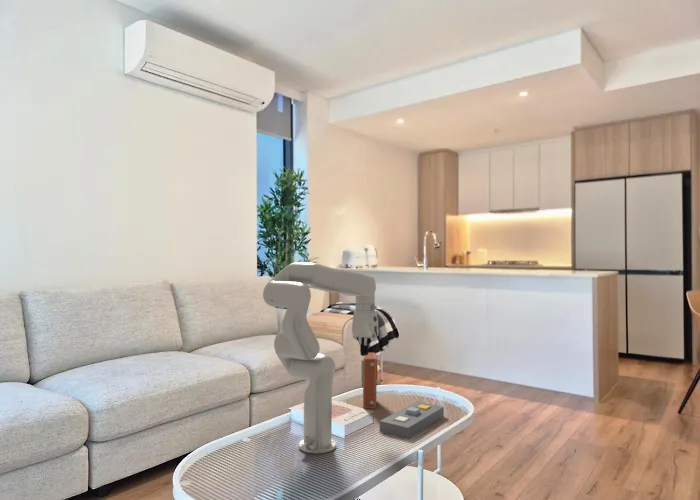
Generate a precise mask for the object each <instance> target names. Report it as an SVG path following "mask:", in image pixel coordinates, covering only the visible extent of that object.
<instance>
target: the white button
mask: <svg viewBox="0 0 700 500" xmlns="http://www.w3.org/2000/svg"><path fill="white" fill-rule="evenodd" d="M394 421H398V422H402V423H405V422H407V421H409V418H406V417H402V416H399V417H397V418H395V419H394Z"/></svg>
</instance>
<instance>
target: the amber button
mask: <svg viewBox="0 0 700 500" xmlns="http://www.w3.org/2000/svg"><path fill="white" fill-rule="evenodd" d="M417 408H419V409H422V410H428V409H430V406H427V405H422V404H421V405H419V406H418V407H417Z"/></svg>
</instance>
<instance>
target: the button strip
mask: <svg viewBox="0 0 700 500" xmlns="http://www.w3.org/2000/svg"><path fill="white" fill-rule="evenodd" d="M421 404H422V405H427V406H430V409H428V410H422V409H420V414H419V415H418V416H411V415H407V414H406V409H408V408H410V407H414V408H417V407H418V406H419V405H421ZM444 409H445V408H444V406H441V405H435V404H432V403H426V402H421V401H416V402H413V403H411V404H410V405H408V406H406V407H403V408H402V409H399V410H398V411H396V412H395V413H392V414H390V415H389V416H386V417H385V418H382V419H380V420H379V432H380V433H384V434H386V435H391V436H395V437H399V438H403V439H406V438H407V440H409V439H411V438H412V437H414V436H415V435H417V434H419V433H420V432H421V431H423V430H425V429H427V428H428V427H430V426H431V425H433V424H434V423H436V422H437V421H440V420H441V419H442V418H443V417H444V416H445V415H444V414H445V413H444ZM399 416H402V417H406V418H409V421H407V422H405V423H402V422H398V421H394V419H395V418H397V417H399ZM410 437H411V438H410Z"/></svg>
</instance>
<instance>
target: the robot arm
mask: <svg viewBox="0 0 700 500" xmlns="http://www.w3.org/2000/svg"><path fill="white" fill-rule="evenodd" d="M311 289H314V290H319V291H324V292H328V293H333V294H334V293H335V294H343V295H345V296H348V297H355V310H354V311H353V316H352V322H351V323H352V324H351V334H352V338H353V339H355V340H356V341H358V345H360V346H359V347H360V349H359V352H360V356H365V355H368V353H370V352H369V351H370V345H371V343H373V342H375V341H377V340H378V338H377V337H378V336H379V333H380V332H379V331H380V330H379V318H378V313H377V311H376V310H377V308H378V306H377V305H376V304H375V303H376V302H375V300H376V297H375V296H376V295H375V294H376V293H375V292H376V290H377V284H376V280H375V278H374V277H373V276H369V275H366V274H362V273H357V272H351V271H347V270H343V269H338V268H334V267H330V266H326V265H323V264H319V263H316V262H292V263H289V264H288V265H286V266H285V267H284V268H282V269H281V270H280V271H279V272H278V273H277V274H276V275H275V276H273V277H272V278H271V279H270V280H269V281H268V282H267V283H266V285H265V286H264V288H263V292H262V298H263V300H264V302H265V303H266V304H267V305H268V306H270V307H274V308H283V309H286V310H285V313H284V316H283V318H282V321H281V330H279V332H277V334H276V335H275V338H274V342H273V347H274V351H275V354H276V356H277V358H278V359H279V361H280V362H281V364H282V366H283V367H284V369H285V370H286V372H287V373H288V374H289V375H290V376H291V377H292V378H295V379H298V380H304V381H308V385H307V387H306V388H305V391H304V393H303V394H304V395H303V439H301V440H300V441H299V442H298V448H299V450H301V451H302V452H304V453H308V454H317V455H318V454H325V453H329V452H332V451H333V450H334V449H336V447H337V442H336V441H335V440H334V439H333V438H332V419H333V418H332V417H333V416H332V415H333V411H332V410H333V409H332V408H333V405H332V404H333V403H332V402H333V399H332V398H333V381H334V377H335V372H336V371H335V370H336V363H335V361H334V359H333V358H332V357H330V356H329V355H328V354H325V353H320V343H319V341H318V338H317V337H316V335H315V333H314V331H313V329H312V327H311V326H310V324H309V322H308V319H307V317H308V310H309V307H310V302H311V297H312V296H311V295H312V294H311Z"/></svg>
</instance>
